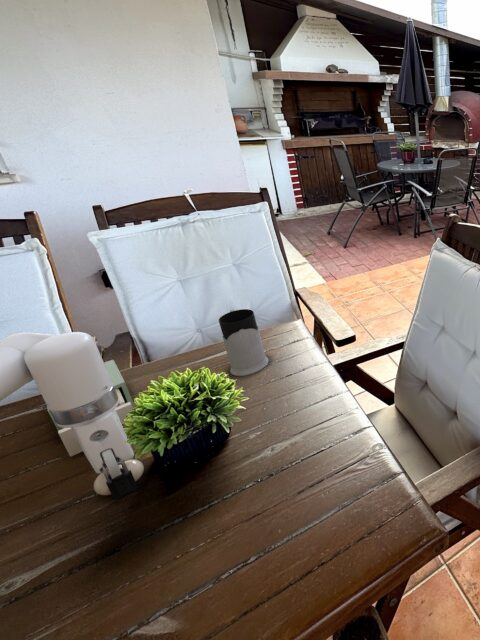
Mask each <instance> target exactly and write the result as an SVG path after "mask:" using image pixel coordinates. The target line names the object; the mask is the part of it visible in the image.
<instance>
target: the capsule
mask: <svg viewBox="0 0 480 640" xmlns="http://www.w3.org/2000/svg"><path fill="white" fill-rule="evenodd" d="M124 462H125V464H126V466H127V468H128V471H129V470H131V472H132V474H133V477H134V479H135V481H136V482H137V481H139V480H140V479H141V477H142V476H143V474H144V471H145V465H144V463H143V462H142V461H141V460H139V459H134V458H132V459H129V460H127V461H124ZM118 466H119V468H120V469H121V468H122V466H121V464H120V465H118ZM108 472H109V470H108ZM109 474H110V473H109ZM106 482H107V480H106V478H105V475H104V473H103V472H102V473H101V474H99V473H98V475H97V477H96V478H95V479H94V481H93V484H92V485H93V486H92V487H93V491H94V492H95V493H96V494H97V495H100V496H111V492H110V490H109V488H108V486H107V484H106Z"/></svg>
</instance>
